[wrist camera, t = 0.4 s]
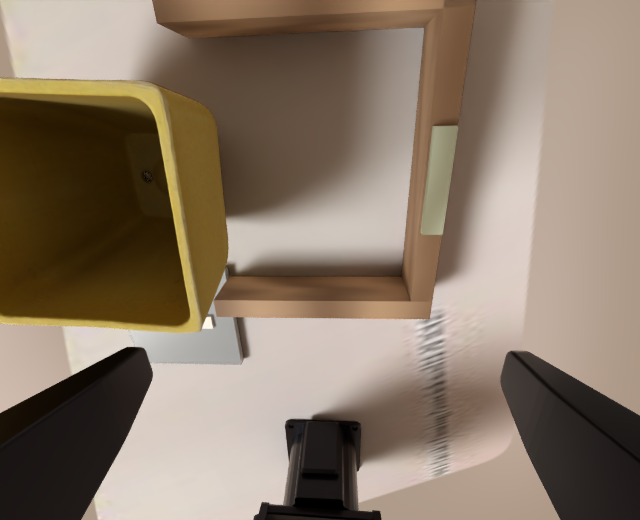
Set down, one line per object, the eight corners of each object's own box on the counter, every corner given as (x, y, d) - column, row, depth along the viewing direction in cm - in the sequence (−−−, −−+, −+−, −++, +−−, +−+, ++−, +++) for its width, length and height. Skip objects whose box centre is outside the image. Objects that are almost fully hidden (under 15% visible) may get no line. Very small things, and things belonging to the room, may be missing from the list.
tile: (243, 359, 24) (240, 366, 24) (144, 357, 25) (138, 364, 24) (227, 267, 21) (223, 272, 20) (113, 267, 22) (105, 272, 21)
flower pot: (248, 95, 17) (160, 80, 8) (256, 247, 20) (202, 338, 12) (86, 90, 17) (-148, 70, 9) (124, 240, 21) (-15, 324, 13)
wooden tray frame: (231, 291, 22) (214, 320, 19) (183, 8, 15) (143, -19, 12) (418, 292, 21) (431, 323, 18) (454, -7, 14) (485, -39, 11)
